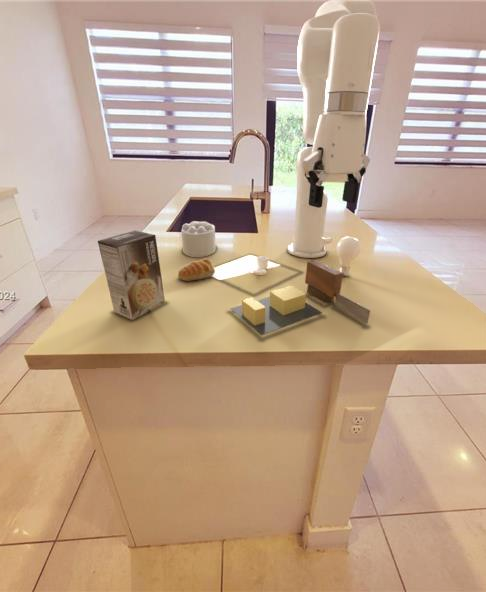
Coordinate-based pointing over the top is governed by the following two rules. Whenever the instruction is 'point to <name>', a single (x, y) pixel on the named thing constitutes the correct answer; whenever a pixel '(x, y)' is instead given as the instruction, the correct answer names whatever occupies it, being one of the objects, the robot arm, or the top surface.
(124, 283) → the coffee box
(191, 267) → the pastry
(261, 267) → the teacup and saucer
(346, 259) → the lightbulb
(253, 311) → the butter slice
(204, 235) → the lumpy-topped squat cylinder
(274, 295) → the butter block
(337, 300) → the knife
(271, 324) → the butter dish
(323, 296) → the knife rest
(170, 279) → the top surface
